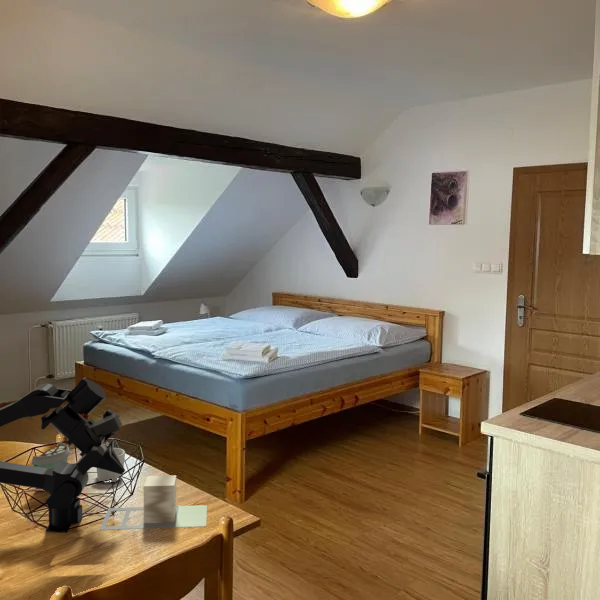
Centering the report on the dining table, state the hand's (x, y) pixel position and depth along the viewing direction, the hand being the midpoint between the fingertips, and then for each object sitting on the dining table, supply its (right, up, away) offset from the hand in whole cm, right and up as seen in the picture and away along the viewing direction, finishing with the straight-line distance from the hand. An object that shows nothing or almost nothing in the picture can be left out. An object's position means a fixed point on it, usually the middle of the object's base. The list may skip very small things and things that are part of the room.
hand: (123, 472), depth 143 cm
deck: (+7, -13, +2) cm, 15 cm away
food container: (-25, -10, +22) cm, 35 cm away
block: (+8, -11, +2) cm, 14 cm away
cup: (-12, -10, +28) cm, 32 cm away
